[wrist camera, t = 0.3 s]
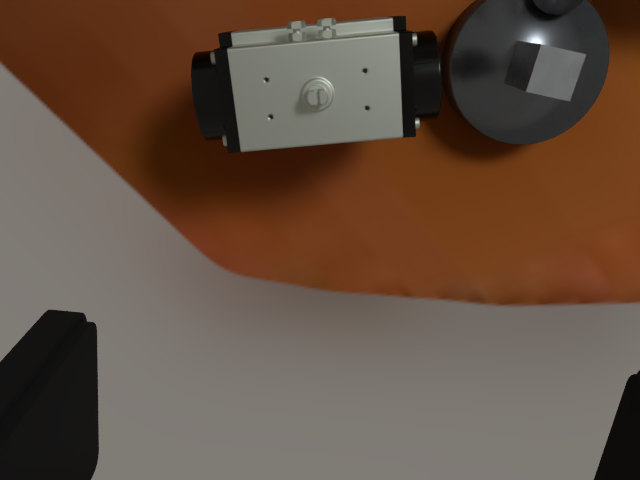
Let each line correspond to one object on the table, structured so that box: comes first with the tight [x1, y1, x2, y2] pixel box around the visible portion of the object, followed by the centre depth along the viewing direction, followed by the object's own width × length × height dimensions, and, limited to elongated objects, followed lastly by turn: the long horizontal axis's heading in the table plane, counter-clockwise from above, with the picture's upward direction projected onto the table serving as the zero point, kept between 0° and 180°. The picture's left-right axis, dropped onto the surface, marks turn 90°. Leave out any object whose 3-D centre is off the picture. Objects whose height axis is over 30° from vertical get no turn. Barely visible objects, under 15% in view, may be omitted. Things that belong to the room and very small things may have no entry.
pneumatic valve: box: [191, 16, 442, 153], centre depth 32 cm, size 6×12×12 cm, turn 95°
